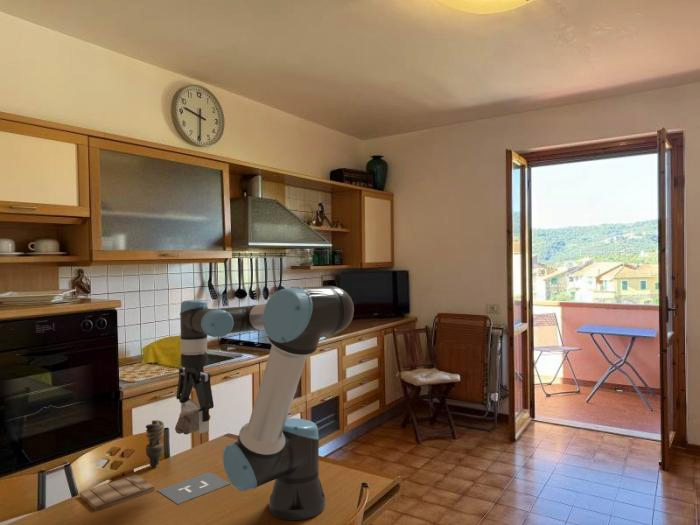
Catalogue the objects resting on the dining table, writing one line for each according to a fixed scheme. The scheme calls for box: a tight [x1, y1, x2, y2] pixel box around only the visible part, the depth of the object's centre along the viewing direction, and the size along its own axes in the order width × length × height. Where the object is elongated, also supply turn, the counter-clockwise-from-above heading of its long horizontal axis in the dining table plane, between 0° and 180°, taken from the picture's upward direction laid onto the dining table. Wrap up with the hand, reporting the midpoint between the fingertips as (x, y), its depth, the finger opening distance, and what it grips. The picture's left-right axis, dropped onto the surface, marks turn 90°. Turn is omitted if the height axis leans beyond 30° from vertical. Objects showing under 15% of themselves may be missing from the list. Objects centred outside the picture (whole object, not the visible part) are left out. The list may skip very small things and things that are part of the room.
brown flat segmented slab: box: [79, 474, 155, 512], centre depth 142 cm, size 12×16×1 cm
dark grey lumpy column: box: [145, 419, 165, 468], centre depth 160 cm, size 6×6×15 cm
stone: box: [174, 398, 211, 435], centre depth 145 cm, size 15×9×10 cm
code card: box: [157, 471, 232, 505], centre depth 145 cm, size 12×17×1 cm
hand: (194, 428), depth 145 cm, fingers closed on stone, 10 cm apart
